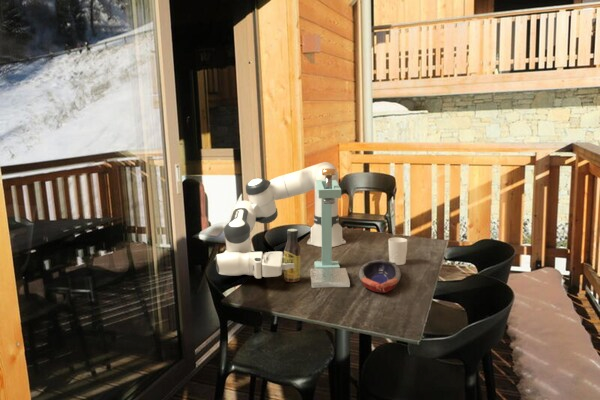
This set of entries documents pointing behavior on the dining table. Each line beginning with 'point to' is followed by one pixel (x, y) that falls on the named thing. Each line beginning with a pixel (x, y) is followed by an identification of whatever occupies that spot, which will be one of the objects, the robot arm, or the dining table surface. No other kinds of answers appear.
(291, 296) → the dining table surface
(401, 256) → the white cup
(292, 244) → the sauce bottle
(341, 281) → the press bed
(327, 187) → the ram
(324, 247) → the press frame
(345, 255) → the dining table surface
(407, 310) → the dining table surface
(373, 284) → the dish
